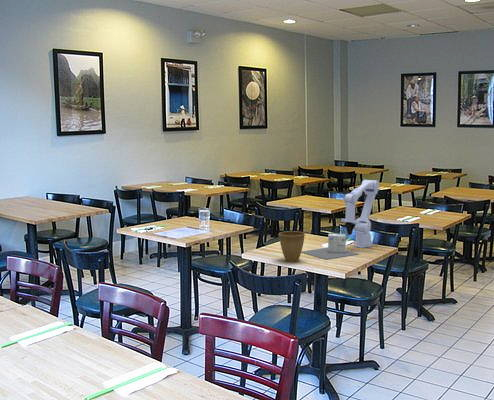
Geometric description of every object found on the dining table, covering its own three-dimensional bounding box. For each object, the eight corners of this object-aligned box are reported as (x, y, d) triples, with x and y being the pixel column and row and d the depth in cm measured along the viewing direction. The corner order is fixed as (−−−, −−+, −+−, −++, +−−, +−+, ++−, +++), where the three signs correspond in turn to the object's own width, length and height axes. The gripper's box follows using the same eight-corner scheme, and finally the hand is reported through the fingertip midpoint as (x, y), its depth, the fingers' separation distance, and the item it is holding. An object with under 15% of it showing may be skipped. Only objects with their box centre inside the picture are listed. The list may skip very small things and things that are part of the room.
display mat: (332, 247, 369) (332, 246, 369) (358, 254, 349) (358, 253, 349) (300, 252, 354) (300, 251, 354) (326, 259, 335) (326, 259, 335)
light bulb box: (345, 250, 358) (345, 233, 356) (345, 252, 351) (346, 235, 350) (327, 250, 359) (328, 233, 357) (328, 252, 352) (328, 235, 351)
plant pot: (302, 257, 340) (303, 230, 338) (305, 263, 326) (306, 235, 324) (277, 257, 340) (277, 230, 338) (279, 263, 325) (279, 235, 323)
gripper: (337, 212, 362) (337, 233, 363) (353, 215, 350) (353, 237, 351) (345, 211, 365) (345, 232, 367) (362, 214, 353) (361, 235, 355)
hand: (349, 234), depth 359 cm, fingers closed
